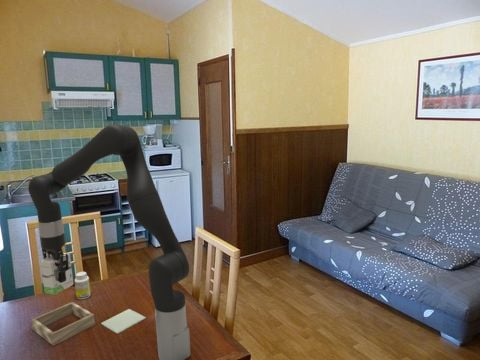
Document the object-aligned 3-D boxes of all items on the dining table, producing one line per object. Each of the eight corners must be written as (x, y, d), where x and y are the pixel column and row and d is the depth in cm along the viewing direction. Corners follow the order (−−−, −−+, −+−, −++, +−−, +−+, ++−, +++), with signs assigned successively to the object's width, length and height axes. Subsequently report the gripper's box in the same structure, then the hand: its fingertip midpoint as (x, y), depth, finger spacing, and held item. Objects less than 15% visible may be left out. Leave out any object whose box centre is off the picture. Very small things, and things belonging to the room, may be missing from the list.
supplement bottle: (83, 292, 160) (80, 269, 158) (93, 294, 158) (91, 271, 156) (73, 298, 155) (70, 275, 153) (84, 301, 153) (81, 277, 151)
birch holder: (94, 324, 136) (93, 314, 135) (53, 345, 125) (51, 334, 124) (73, 311, 145) (72, 301, 144) (32, 329, 134) (31, 319, 133)
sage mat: (145, 318, 139) (145, 317, 139) (117, 334, 130) (117, 332, 130) (129, 309, 145) (129, 308, 145) (101, 324, 136) (100, 323, 136)
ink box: (54, 295, 127) (50, 262, 125) (43, 293, 129) (39, 260, 126) (74, 284, 135) (70, 253, 132) (63, 282, 137) (59, 251, 134)
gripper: (73, 233, 126) (79, 280, 130) (52, 226, 135) (58, 270, 138) (51, 240, 121) (57, 289, 124) (30, 232, 129) (37, 277, 133)
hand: (58, 279), depth 131 cm, fingers closed on ink box, 6 cm apart
